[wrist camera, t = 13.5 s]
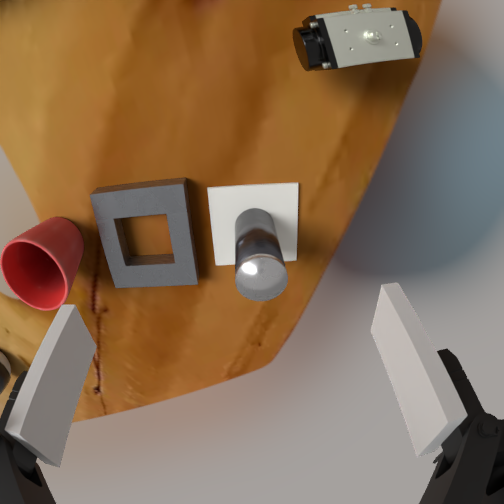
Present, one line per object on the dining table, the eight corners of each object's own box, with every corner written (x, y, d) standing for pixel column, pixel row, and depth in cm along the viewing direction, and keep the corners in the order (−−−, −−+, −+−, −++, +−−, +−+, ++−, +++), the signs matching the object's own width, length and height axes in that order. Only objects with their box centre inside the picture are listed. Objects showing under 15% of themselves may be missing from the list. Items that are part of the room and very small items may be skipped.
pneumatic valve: (383, 57, 31) (438, 56, 21) (292, 74, 32) (319, 72, 22) (372, 16, 28) (423, 0, 18) (278, 30, 29) (298, 9, 19)
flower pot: (31, 199, 37) (-6, 231, 29) (96, 215, 40) (66, 252, 31) (34, 260, 42) (5, 298, 34) (93, 277, 45) (70, 320, 36)
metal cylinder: (233, 209, 40) (233, 259, 30) (273, 207, 40) (288, 256, 30) (236, 244, 42) (237, 302, 32) (274, 242, 42) (287, 299, 32)
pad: (207, 187, 39) (207, 188, 38) (297, 182, 39) (298, 183, 39) (216, 263, 44) (215, 265, 44) (295, 258, 45) (296, 260, 44)
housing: (97, 187, 38) (89, 194, 35) (186, 177, 38) (183, 183, 36) (120, 277, 45) (115, 287, 43) (199, 273, 45) (197, 284, 43)
